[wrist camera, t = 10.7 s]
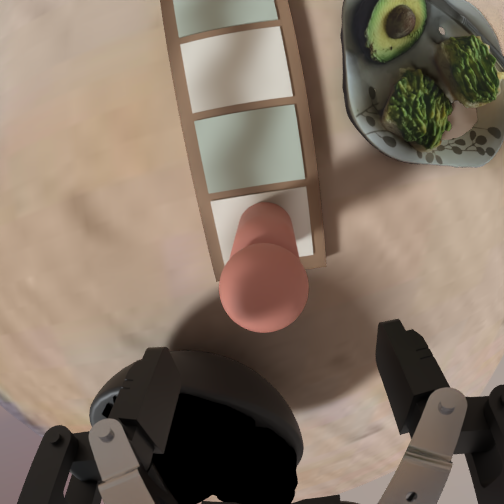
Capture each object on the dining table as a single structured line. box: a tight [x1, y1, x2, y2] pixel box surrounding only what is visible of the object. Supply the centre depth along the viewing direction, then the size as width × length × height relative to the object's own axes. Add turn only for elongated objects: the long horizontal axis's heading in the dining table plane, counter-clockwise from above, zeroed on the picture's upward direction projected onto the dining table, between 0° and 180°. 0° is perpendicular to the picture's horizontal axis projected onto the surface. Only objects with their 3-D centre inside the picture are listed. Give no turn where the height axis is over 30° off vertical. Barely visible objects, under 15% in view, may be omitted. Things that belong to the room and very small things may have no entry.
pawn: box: [219, 202, 309, 333], centre depth 18 cm, size 4×4×11 cm
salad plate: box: [341, 0, 504, 167], centre depth 17 cm, size 19×18×5 cm
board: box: [160, 0, 326, 282], centre depth 20 cm, size 9×26×2 cm, turn 9°
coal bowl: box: [89, 351, 304, 504], centre depth 24 cm, size 20×20×19 cm
